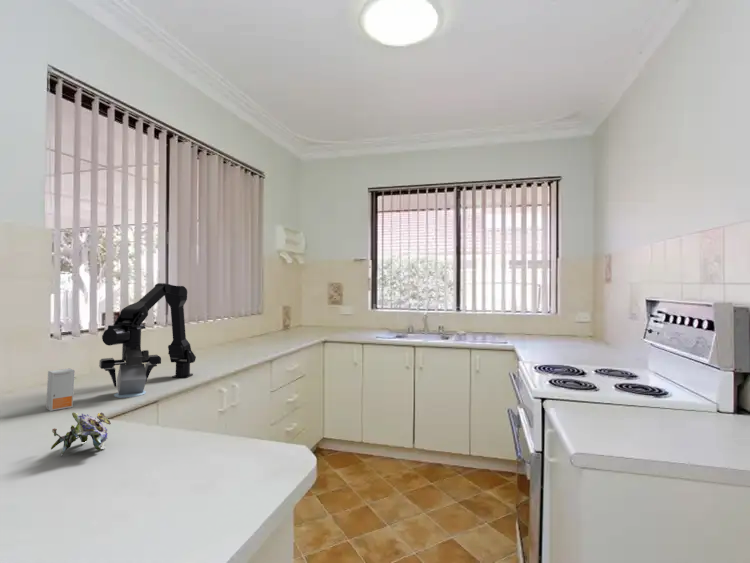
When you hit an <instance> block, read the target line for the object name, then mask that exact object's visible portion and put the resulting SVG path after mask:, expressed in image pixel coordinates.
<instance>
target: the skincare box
mask: <svg viewBox="0 0 750 563" xmlns="http://www.w3.org/2000/svg"><path fill="white" fill-rule="evenodd" d="M46 389H47V390H46V407H45V408H46V410H48V411H49V412H53V411H58V410H64V409H70V408H71V407H72V408H73V406H74V392H75V390H74V389H75V370H74V369H72V368H65V369H64V368H63V369H56V370H47V388H46Z"/></svg>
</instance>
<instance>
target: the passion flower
mask: <svg viewBox="0 0 750 563" xmlns="http://www.w3.org/2000/svg"><path fill="white" fill-rule="evenodd" d="M71 416H72V418H74V421H75V422H76V423H77V424H76V425H74V424H71V425H70V426H71V427H70V430H69V431H67V432H66V433H65V435H62V436H61V435H60V434H59V433H58V432H57V428H52V430H51V432H52V433H53V436H54V437H59V438H58V439H57V440H56V441H55V443H53V444H52V445H51V447H50V450H54V448H55V447H56V446H58V445H59V444H61V443H62V442H63V445H62V449H61V454H63V455H64V453H65V451H67V450H68V449H70V448H71V445H72V444H73V443H74V442H76V441H77V440H78V439H79V440H80V442H85V441H87V442H88V439H89V438H88V437H89V436H90V438H91V439H92V445H93V447H94V448H95V450H97V451H100V450H101V447H102V446H103V445H105V442H106V441H107V439H108V433H107V432H108V429H107V427H105V426H104V425H103V423H106V425H112V424H111V421H110V419H108V418H107V417H106V415H105V414H104V413H103V412H99V413H97V416H96V417H93V416H90V415H89V414H84V413H81V415H79V413H77V412H71ZM97 419H98V420H97ZM101 451H102V450H101Z"/></svg>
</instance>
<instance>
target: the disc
mask: <svg viewBox="0 0 750 563" xmlns="http://www.w3.org/2000/svg"><path fill="white" fill-rule="evenodd" d="M146 393H147V391H146V390H145V389H144V390H143V392H142V393H134V394H125V395H118V392H116V393H114V394H113V397H115V398H121V399H123V398H125V399H126V398H133V397H140V396H142V395H145V394H146Z"/></svg>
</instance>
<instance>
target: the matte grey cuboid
mask: <svg viewBox="0 0 750 563" xmlns="http://www.w3.org/2000/svg"><path fill="white" fill-rule="evenodd" d="M145 383H147V381H146V372H145V363H142V364H141V365H132V366H127V365H126V364H124V365H119V369H118V374H117V375H116V387H117V393H118V395H125V394H134V393H142V392H143V390H144V391H145V386H146V384H145Z"/></svg>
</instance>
